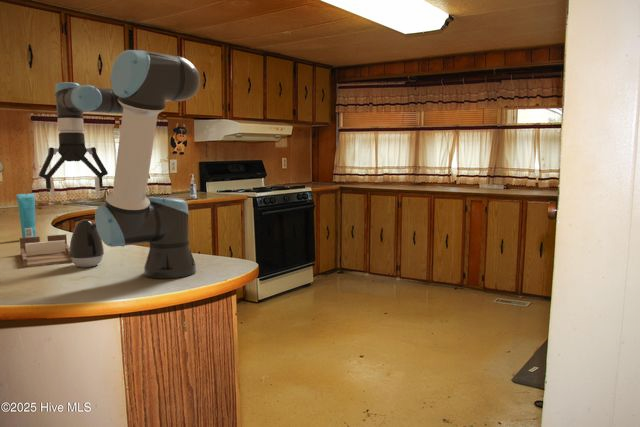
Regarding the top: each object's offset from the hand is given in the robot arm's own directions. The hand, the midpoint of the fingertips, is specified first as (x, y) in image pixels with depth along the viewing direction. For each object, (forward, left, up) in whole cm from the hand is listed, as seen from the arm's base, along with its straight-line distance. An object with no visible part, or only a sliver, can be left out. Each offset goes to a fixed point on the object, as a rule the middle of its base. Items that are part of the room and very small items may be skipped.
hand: (75, 198), depth 171 cm
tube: (+61, -6, -22) cm, 65 cm away
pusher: (+24, +2, -21) cm, 31 cm away
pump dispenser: (-5, 0, -22) cm, 22 cm away
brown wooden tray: (+17, +4, -22) cm, 28 cm away
